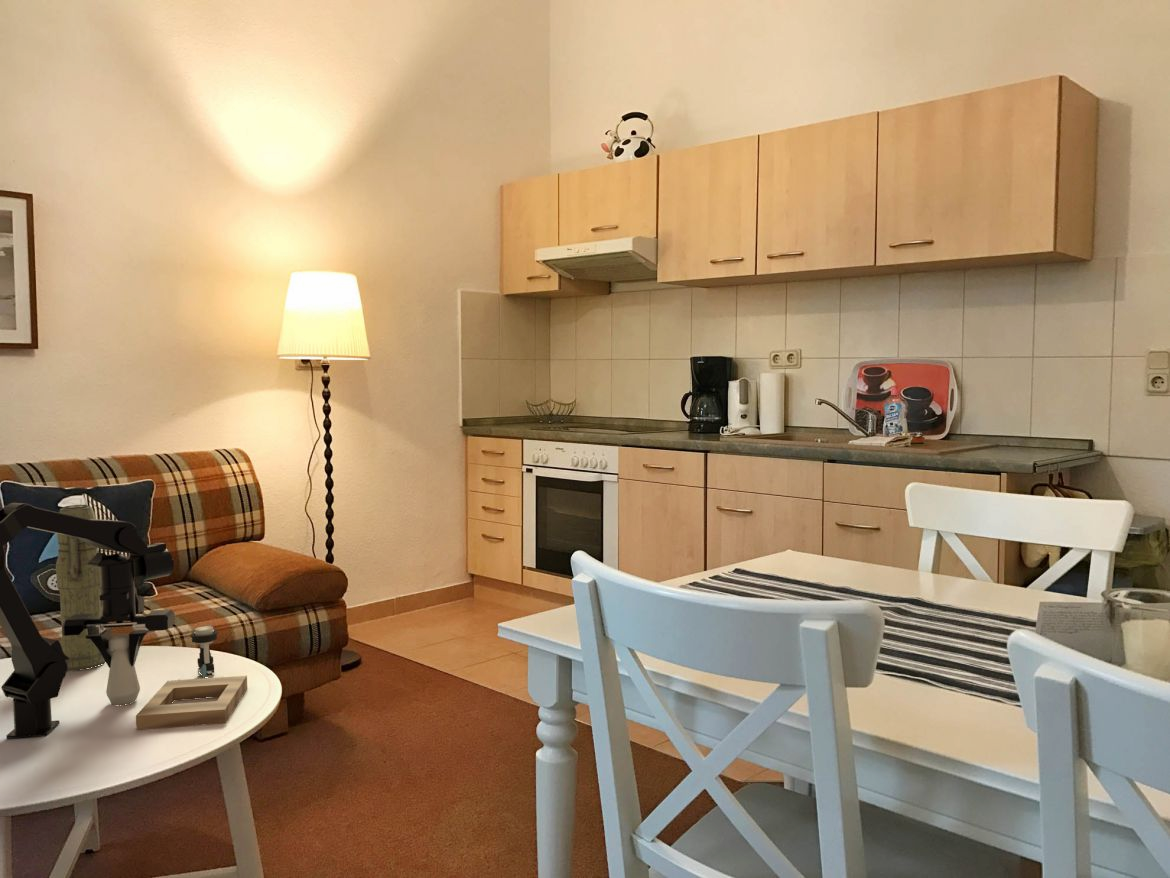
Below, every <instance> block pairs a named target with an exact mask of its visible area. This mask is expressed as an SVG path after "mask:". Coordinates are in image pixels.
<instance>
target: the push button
mask: <svg viewBox="0 0 1170 878" xmlns="http://www.w3.org/2000/svg"><path fill="white" fill-rule="evenodd" d="M218 634H219V632H218V630H217V629H214V626H212V625H206V626H205V625H204V626H199V627H196V628H195V629H194V632H191V633H190V634H189V635H190V638H191V642H192V643H194V644H195V645H200V647H199V654H198V655H199V657H198V658H197V661H196V662H197V667H198V668H197V676H198V675H199V676H200V675H201V674H202V676H203V677H204V678H205V677H208V678H213V677H212V676H214V674H215V664H214V656H212V652H211V647H210V644H212V643H214V642H215V641H216V640H217V639H218ZM199 672H200V673H201V674H200V673H199ZM213 673H214V674H213ZM202 676H201V677H202ZM203 677H202V678H203Z"/></svg>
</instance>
